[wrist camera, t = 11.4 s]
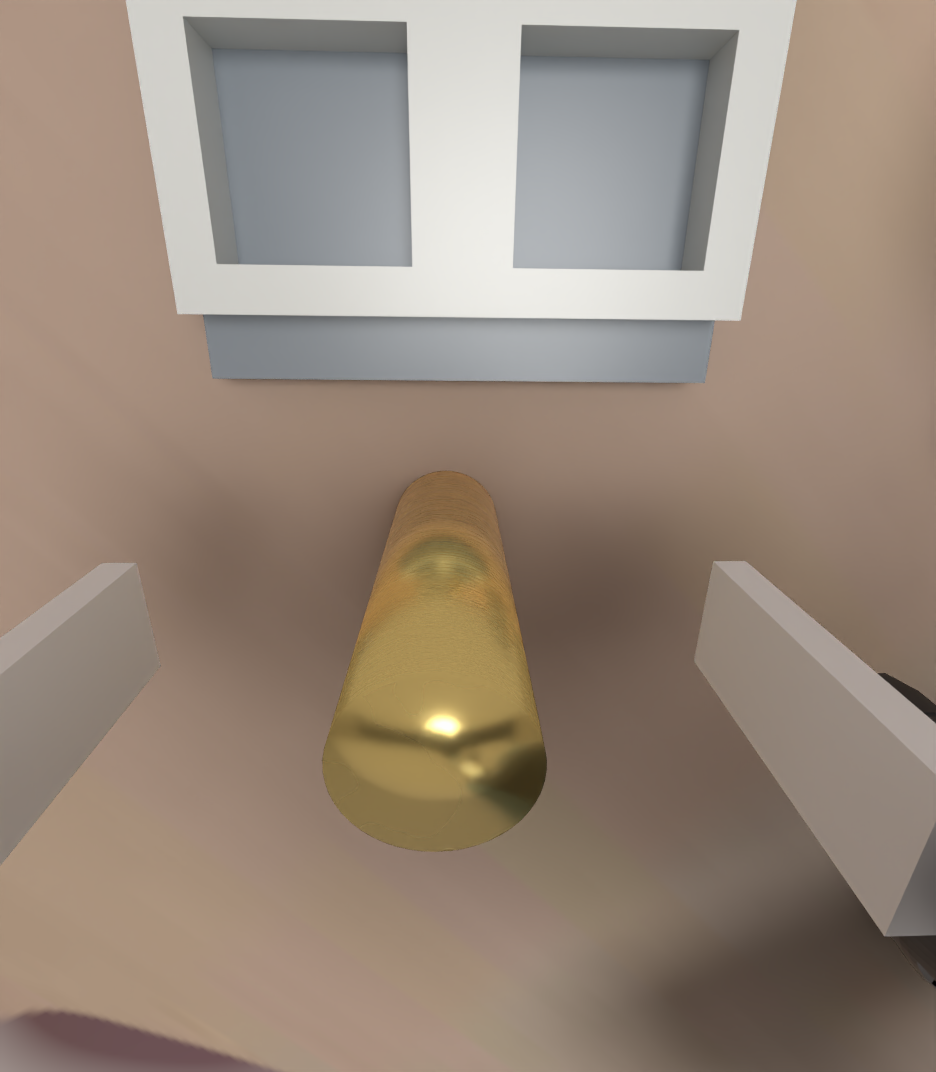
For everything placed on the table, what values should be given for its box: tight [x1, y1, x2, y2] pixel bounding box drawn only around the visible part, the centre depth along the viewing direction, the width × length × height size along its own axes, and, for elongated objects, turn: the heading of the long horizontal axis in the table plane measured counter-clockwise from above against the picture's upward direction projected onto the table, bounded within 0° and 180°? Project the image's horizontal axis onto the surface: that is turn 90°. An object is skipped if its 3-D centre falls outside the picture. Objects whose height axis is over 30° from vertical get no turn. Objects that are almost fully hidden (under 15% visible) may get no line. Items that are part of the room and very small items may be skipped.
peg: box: [322, 471, 547, 852], centre depth 15 cm, size 4×4×12 cm
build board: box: [126, 0, 797, 383], centre depth 15 cm, size 11×15×3 cm
